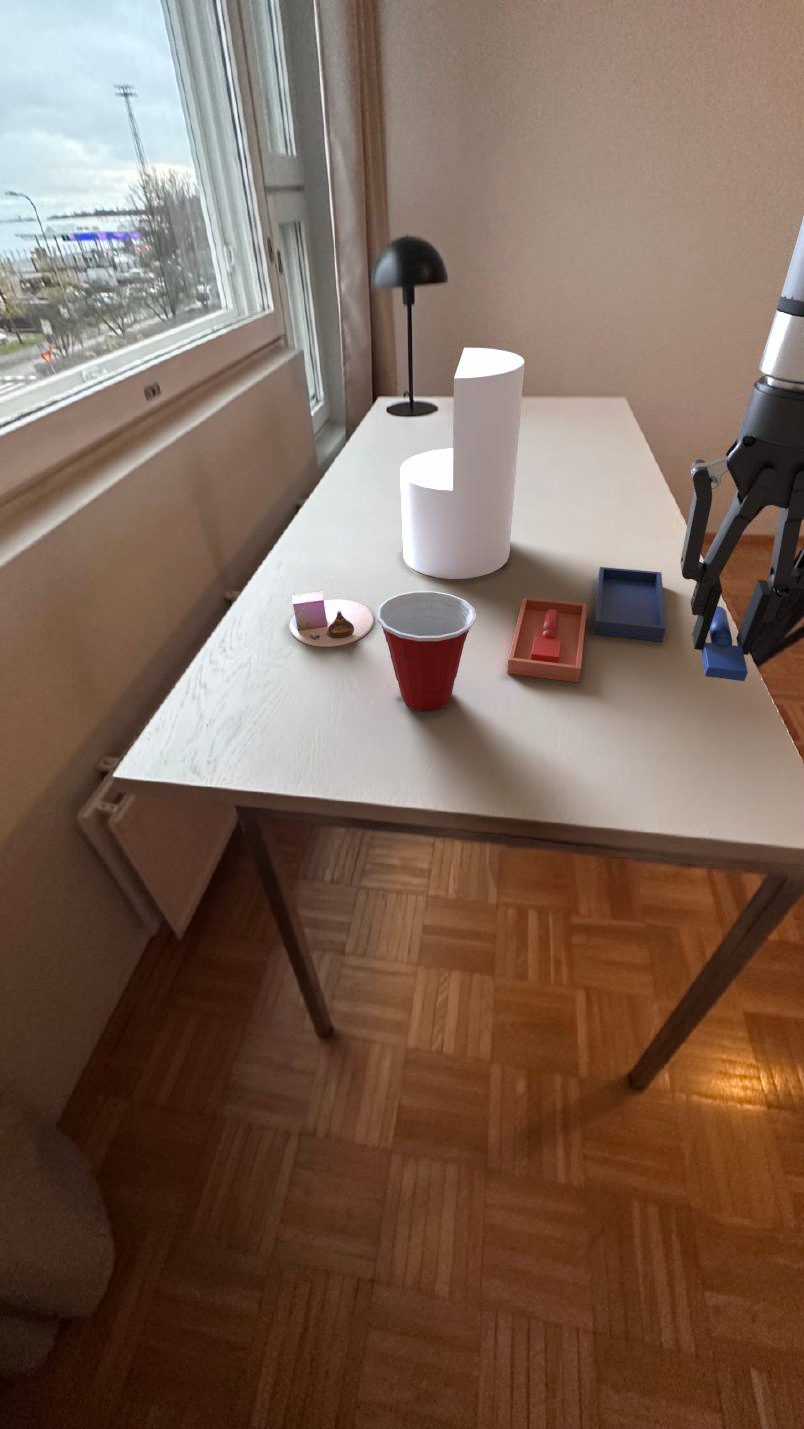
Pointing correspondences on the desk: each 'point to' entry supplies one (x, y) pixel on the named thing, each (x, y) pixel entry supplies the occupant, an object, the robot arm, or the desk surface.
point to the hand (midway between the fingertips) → (719, 643)
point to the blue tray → (629, 604)
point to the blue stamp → (723, 651)
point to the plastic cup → (425, 644)
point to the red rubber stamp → (547, 640)
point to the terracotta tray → (567, 630)
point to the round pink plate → (328, 620)
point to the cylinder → (467, 474)
